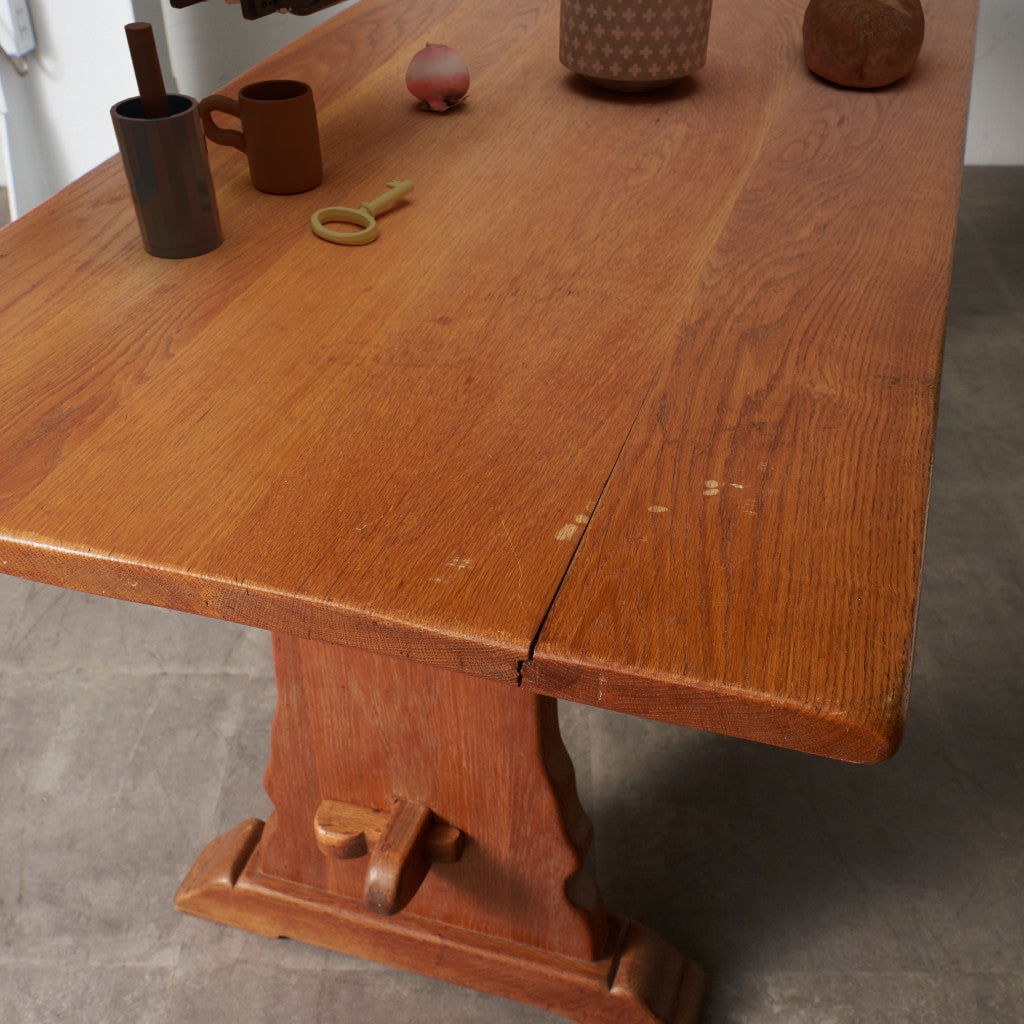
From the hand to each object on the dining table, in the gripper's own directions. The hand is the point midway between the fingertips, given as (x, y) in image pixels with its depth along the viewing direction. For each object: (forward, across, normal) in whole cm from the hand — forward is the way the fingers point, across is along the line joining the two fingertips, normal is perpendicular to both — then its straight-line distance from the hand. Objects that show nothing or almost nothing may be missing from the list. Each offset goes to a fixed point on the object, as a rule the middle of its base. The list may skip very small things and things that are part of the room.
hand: (207, 1), depth 89 cm
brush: (+8, 0, +18) cm, 20 cm away
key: (-4, +12, +20) cm, 23 cm away
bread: (-81, +40, +20) cm, 93 cm away
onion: (-36, 0, +20) cm, 41 cm away
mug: (-7, -3, +20) cm, 21 cm away
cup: (+8, 0, +19) cm, 21 cm away
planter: (-57, +17, +20) cm, 63 cm away
